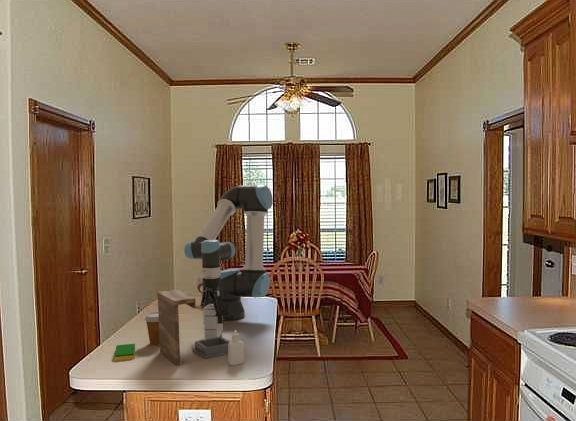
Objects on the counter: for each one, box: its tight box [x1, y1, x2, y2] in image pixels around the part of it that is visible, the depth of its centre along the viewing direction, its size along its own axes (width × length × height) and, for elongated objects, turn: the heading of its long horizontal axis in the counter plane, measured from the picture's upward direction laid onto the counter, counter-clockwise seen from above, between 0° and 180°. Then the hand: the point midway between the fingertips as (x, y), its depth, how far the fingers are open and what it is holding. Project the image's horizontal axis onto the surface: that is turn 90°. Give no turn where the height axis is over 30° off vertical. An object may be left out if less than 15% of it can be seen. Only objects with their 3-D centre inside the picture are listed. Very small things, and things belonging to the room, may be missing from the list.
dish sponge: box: [114, 343, 136, 362], centre depth 206 cm, size 7×14×2 cm, turn 15°
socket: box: [191, 336, 231, 359], centre depth 207 cm, size 13×13×4 cm
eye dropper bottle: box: [227, 330, 245, 366], centre depth 192 cm, size 4×6×12 cm
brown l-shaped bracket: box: [156, 289, 197, 366], centre depth 201 cm, size 8×20×24 cm, turn 31°
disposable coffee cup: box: [144, 311, 160, 346], centre depth 219 cm, size 10×10×12 cm
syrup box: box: [202, 304, 223, 340], centre depth 222 cm, size 6×6×14 cm
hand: (212, 327), depth 222 cm, fingers open, 13 cm apart
